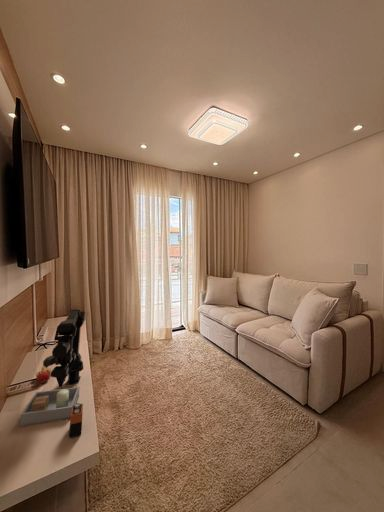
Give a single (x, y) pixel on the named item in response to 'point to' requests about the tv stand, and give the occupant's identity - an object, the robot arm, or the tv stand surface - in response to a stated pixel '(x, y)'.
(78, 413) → the battery
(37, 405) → the walnut cube
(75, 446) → the tv stand surface
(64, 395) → the sage capsule
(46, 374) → the kendama
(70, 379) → the robot arm
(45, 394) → the tote
